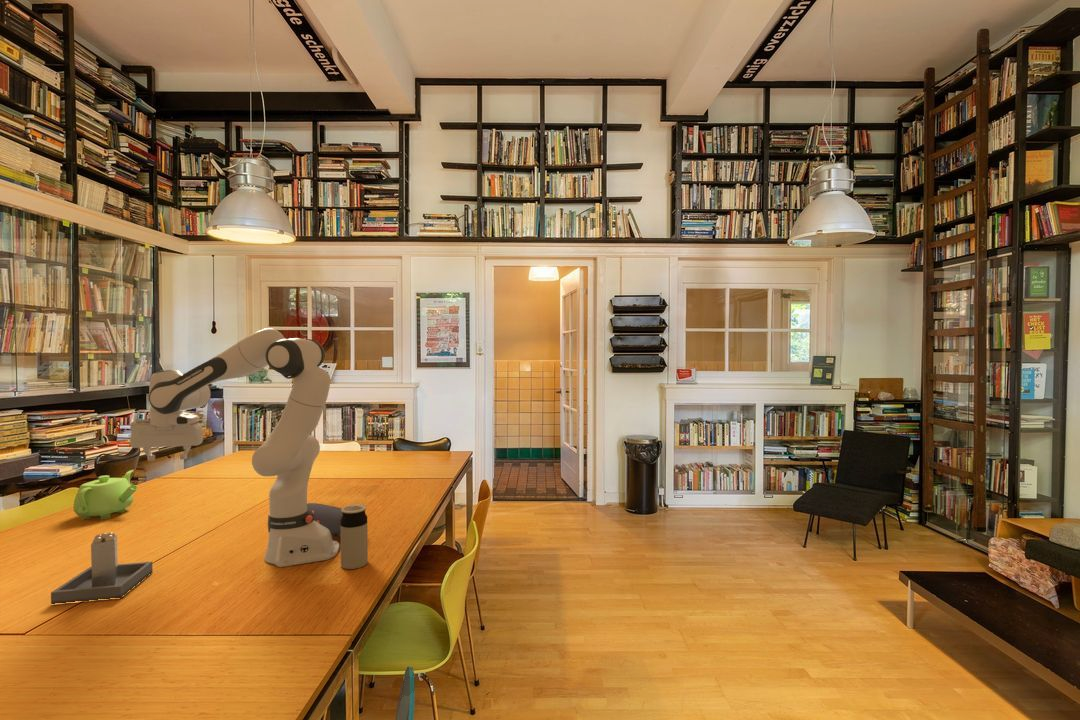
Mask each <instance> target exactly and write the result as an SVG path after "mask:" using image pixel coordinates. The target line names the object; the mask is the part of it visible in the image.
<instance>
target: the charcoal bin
mask: <svg viewBox="0 0 1080 720" xmlns="http://www.w3.org/2000/svg"><path fill="white" fill-rule="evenodd" d="M153 569H154V568H153V561H143V562H132V563H131V562H130V563H129V562H128V563H120V564H119V563H118V580H117V583H116V585H114V586H102V587H92V566H89V567H88V568H86V569H84V570H83V571H82V572H80V573H79V574H77V575H76V576H74V577H72V578H71V579H69V580H68V581H67V582H65V583H63V584H61V585H60V586H59V587H57V588H56V589H55V590H53V591H51V592H50V605H51V604H55V603H66V602H75V601H89V600H98V599H110V598H121V597H122V596H123V595H125V594H126V593H127V592H128V591H129V590H131V589H132V588H133V587H134V586H136V585H137V584H138V583H139V582H141V581H142V580H143V579H144V578H145V577H147V576H148V575H149V574H151V573H152V572H153ZM153 573H154V572H153ZM153 573H152V574H153ZM152 574H151V575H152ZM149 576H150V575H149ZM149 576H148V577H149ZM148 577H147V578H148ZM143 581H144V580H143ZM143 581H142V582H143ZM142 582H141V583H142ZM137 586H138V585H137ZM137 586H136V587H137ZM131 591H132V590H131ZM125 596H126V595H125Z"/></svg>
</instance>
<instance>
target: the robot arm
mask: <svg viewBox="0 0 1080 720" xmlns="http://www.w3.org/2000/svg"><path fill="white" fill-rule="evenodd" d="M325 359H326V351H325V348H324V347H323V345H322V344H321V343H319V342H318V341H316V340H314V339H311V338H299V337H293V338H285V337H284V335H283V334H282V333H281V332H280V331H279V330H278V329H275V328H272V327H266V328H263V329H261V330H257V331H255V332H253V333H252V334H250V335H247V336H246V337H244V338H243V339H241V340H239V341H238V342H236V343H235V344H233V345H232V346H230V347H228V348H226V349H225V350H224V351H222V352H220V353H219V354H217V355H216V356H214V357H212V358H210V359H208V360H207V361H205V362H203V363H201V364H200V365H197V366H196V367H194V368H192V369H190V370H188V371H187V372H185V373H182V372H181V371H180V370H178V369H167V370H160V371H156V372H154V373H152V374H151V376H150V380H149V387H148V388H149V389H148V392H149V393H148V394H149V395H148V401H149V404H150V408H149V418H145V419H142V418H141V419H140V418H139V419H136V420H134V421H132V422H131V423H130V431H131V432H130V439H129V445H130V447H131V448H132V449H143V450H142V451H143V453H144V454H145V456H146V457H147V462H153V461H155V460H156V454H153V453H152V452H151V450H152V448H166V447H169V448H171V447H183V450H184V451H183V452H182V453H180V454H179V460H186V459H188V453H189V452H190V450H191V448H192V446H199V445H201V444H202V443H203V441H204V432H203V427H202V425H201V424H200V418H201V417H200V416H199V415H197V414H192V413H190V412H186V411H187V410H192V409H193V410H194V409H199V408H202V407H204V406H207V405H208V403H209V402H210V400H211V397H212V392H211V387H210V386H209V385H210V384H213V383H216V382H219V381H220V382H221V381H224V380H225V381H226V380H232V379H238V378H239V379H240V378H244V377H248V376H251V375H253V374H255V373H257V372H259V371H262V370H263V369H264V368H266V367H267V366H269V367H270V369H272V370H274V371H275V372H277V373H278V374H280V375H281V376H283V377H284V379H285V378H286V379H287V380H288V379H292V381H293V382H292V383H293V384H292V389H291V390H290V393H289V395H288V397H287V401H286V404H285V406H284V409H283V412H282V414H281V416H280V418H279V420H278V422H277V424H276V425H275V427H274V428H273V429H272V431H271V432H270V434H269V435H268V437H267V438H266V440H264V442H263V443H262V444H261V445H260V446H259V447H258V448H257V449H255V450H254V452H253V454H252V456H251V464H252V468H253V469H254V472H256V473H257V474H258V475H259V476H261V477H265V478H266V477H276V479H275V480H274V481H275V482H274V483H273V484H272V486H271V488H270V490H269V493H268V494H269V496H268V497H269V501H268V503H269V514H268V515H267V530H268V541H267V546H266V547H267V548H266V552H265V555H264V558H263V559H264V561H265V562H267V563H268V564H272V565H275V566H276V567H278V568H283V567H289V566H290V567H291V566H296V565H297V566H298V565H302V564H309V563H313V562H314V563H315V562H320V561H327V560H331V559H332V558H334V557H335V556H336V555H337V554H338V553H339V550H340V549H341V545H340V543H339V542H338V540H333V536H332V535H331V532H330V530H329V529H328V528H326V527H324V526H322V525H321V524H319V523H317V522H316V521H314V510H313V511H312V512H311V511H310V510H308V509H307V504H308V485H309V480H310V475H311V473H312V468H313V466H314V463H315V461H316V459H317V457H318V455H319V454H320V452H321V451H320V449H321V445H320V442H319V440H318V439H317V438H316V437H315V436H314V435H312V432H314V431H315V430H316V428H317V427H318V425H319V422H320V419H321V416H322V414H323V411H324V408H325V405H326V403H327V400H328V396H329V392H330V387H331V381H332V380H331V376H330V374H329V372H327V371H326V370H325V369H322V368H321V367H320V366H321V365H322V364H323V363H324V362H325Z"/></svg>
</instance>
